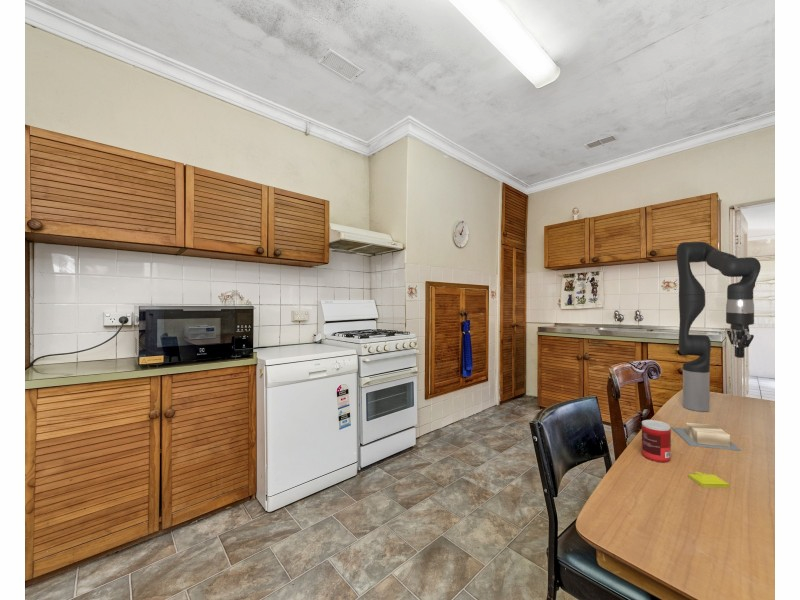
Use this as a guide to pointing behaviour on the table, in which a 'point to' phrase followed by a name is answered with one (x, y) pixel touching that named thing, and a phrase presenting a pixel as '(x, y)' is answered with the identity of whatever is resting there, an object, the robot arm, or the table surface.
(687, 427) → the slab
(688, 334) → the robot arm
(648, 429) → the canned food
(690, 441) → the mat
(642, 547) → the table surface
